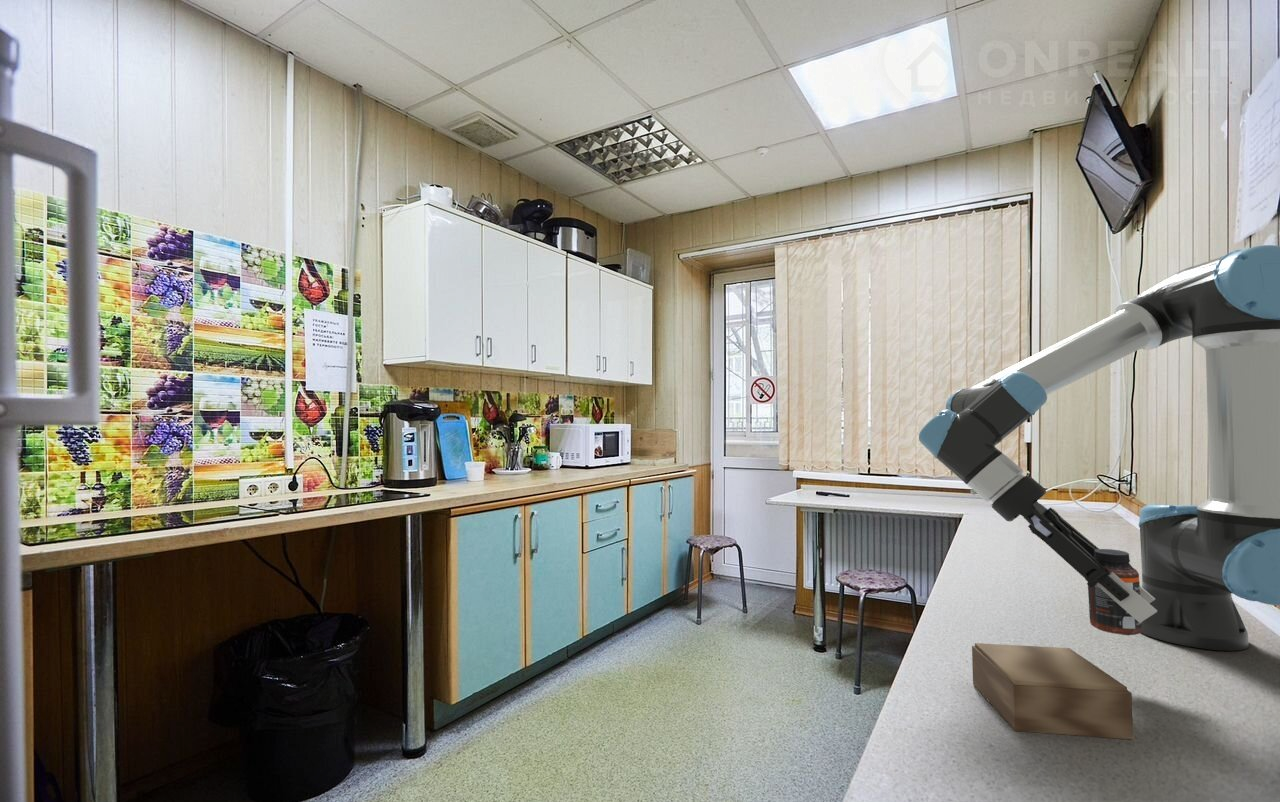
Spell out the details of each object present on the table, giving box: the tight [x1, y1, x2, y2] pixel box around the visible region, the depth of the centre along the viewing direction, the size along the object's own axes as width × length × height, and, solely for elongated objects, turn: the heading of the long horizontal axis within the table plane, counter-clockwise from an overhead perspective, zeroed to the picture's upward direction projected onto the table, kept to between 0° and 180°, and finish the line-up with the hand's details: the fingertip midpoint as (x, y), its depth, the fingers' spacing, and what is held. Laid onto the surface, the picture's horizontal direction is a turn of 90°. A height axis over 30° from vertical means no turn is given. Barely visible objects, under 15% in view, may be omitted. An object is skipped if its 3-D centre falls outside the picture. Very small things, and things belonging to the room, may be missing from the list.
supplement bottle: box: [1087, 548, 1142, 636], centre depth 85 cm, size 6×6×11 cm
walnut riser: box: [971, 642, 1134, 740], centre depth 77 cm, size 13×13×6 cm
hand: (1147, 610), depth 83 cm, fingers closed on supplement bottle, 6 cm apart
